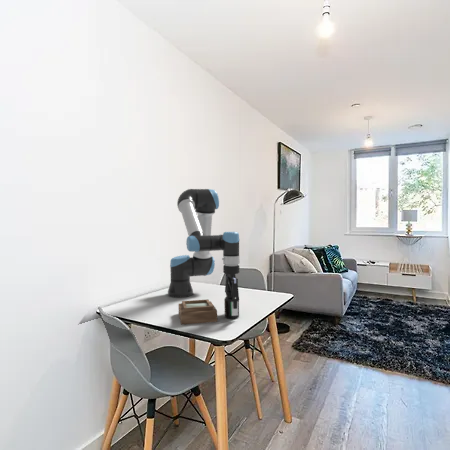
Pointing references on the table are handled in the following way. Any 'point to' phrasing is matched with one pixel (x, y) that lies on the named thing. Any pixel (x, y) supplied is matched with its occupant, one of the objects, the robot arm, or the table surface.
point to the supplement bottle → (229, 306)
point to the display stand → (197, 312)
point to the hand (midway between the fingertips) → (231, 311)
